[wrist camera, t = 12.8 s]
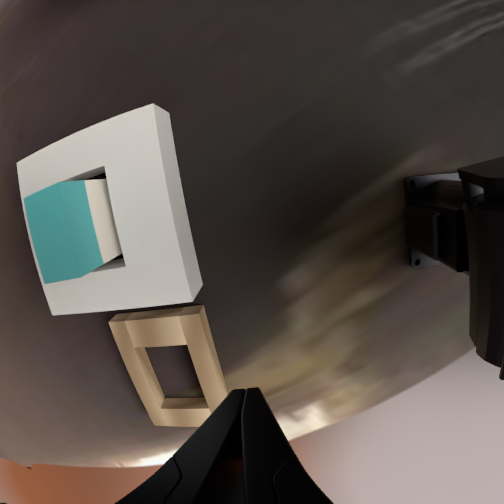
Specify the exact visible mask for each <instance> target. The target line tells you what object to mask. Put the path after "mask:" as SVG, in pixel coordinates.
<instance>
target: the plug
mask: <svg viewBox="0 0 504 504" xmlns="http://www.w3.org/2000/svg"><path fill="white" fill-rule="evenodd" d="M23 199H24V204H25V210H26V215H27V220H28V224H29V229H30V233H31V237H32V241H33V245H34V249H35V253H36V257H37V260H38V264H39V267H40V271H41V274H42V277H43V280H44V283H45V284H48V283H54V282H59V281H65V280H70V279H75V278H81V277H83V276H84V275H86V274H88V273H89V272H91V271H93V270H94V269H96V268H98V267H99V266H101V265H103V264H105V263H106V262H108V261H110V260H111V259H113V258H115V257H117V256H118V255H120V254H122V249H121V245H120V241H119V237H118V233H117V229H116V224H115V220H114V215H113V210H112V205H111V200H110V195H109V190H108V184H107V179H95V180H81V181H68V182H58V183H56V184H53V185H51V186H49V187H46V188H44V189H42V190H40V191H38V192H36V193H33V194H31V195H29V196H27V197H25V198H23Z"/></svg>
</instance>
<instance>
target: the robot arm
mask: <svg viewBox="0 0 504 504" xmlns="http://www.w3.org/2000/svg"><path fill="white" fill-rule="evenodd" d="M457 170H458V173H445V174H433V175H421V176H410V177H407V178H406V179H405V181H404V190H405V199H406V207H405V209H404V213H405V227H406V243H407V244H408V245H409V263H410V265H411V267H413V268H415V269H419V268H424V267H428V266H433V265H437V264H442V263H443V264H445V265H446V266H448V267H450V268H452V269H453V270H455V271H457V272H463V273H465V274H466V275H468V276H469V284H470V317H469V335H470V337H471V339H472V341H473V343H474V345H475V346H476V353H477V354H478V355H479V356H480V357H481V358H483V359H484V360H485V361H487V362H489V363H491V364H493V365H495V366H497V367H500V368H501V370H500V375H499V378H500V379H501V380H504V157H501V158H497V159H493V160H489V161H485V162H481V163H477V164H473V165H469V166H466V167H462V168H458V169H457ZM410 181H412V182H413V186H412V187H410V185H409V183H410ZM416 259H418V262H417V263H416V264H415V263H414V262H415V260H416ZM0 504H6V503H0ZM115 504H333V502H332V501H331V500H330V499H329V498H328V497H327V496H326V495H325V494H324V493H323V492H322V491H321V489H320V488H319V487H318V486H317V485H316V484H315V482H314V481H313V480H312V479H311V477H310V476H309V475H308V473H307V472H306V470H305V469H304V467H303V466H302V464H301V463H300V461H299V459H298V458H297V456H296V454H295V453H294V451H293V449H292V447H291V446H290V444H289V442H288V440H287V438H286V437H285V435H284V433H283V431H282V429H281V428H280V426H279V424H278V422H277V420H276V418H275V417H274V415H273V413H272V411H271V409H270V407H269V405H268V403H267V402H266V400H265V398H264V396H263V394H262V392H261V390H260V388H258V387H255V388H247V389H246V390H245V389H234V390H232V391H231V392H230V393H229V394H228V395H227V396H226V398H225V399H224V400H223V401H222V402H221V403H220V405H219V406H218V407H217V408H216V409H215V410H214V411H213V412H212V414H211V415H210V416H209V417H208V418H207V419H206V420H205V421H204V423H203V424H202V425H201V426H200V427H199V428H198V429H197V430H196V431H195V432H194V434H193V435H192V436H191V437H190V438H189V439H188V440H187V441H186V442H185V443H184V444H183V445H182V446H181V447H180V448H179V450H178V451H177V452H176V453H175V454H174V455H173V457H171V458H170V459H169V460H168V461H167V462H166V463H165V464H164V465H163V466H162V467H161V468H160V469H159V470H158V471H157V472H155V474H154V475H152V476H151V477H150V478H149V479H147V480H146V481H145V482H143V483H142V484H141V485H140V486H138V487H137V488H136V489H134V490H133V491H132V492H130V493H129V494H127V495H126V496H125V497H123V498H122V499H120V500H119V501H118V502H116V503H115Z"/></svg>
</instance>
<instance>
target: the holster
mask: <svg viewBox="0 0 504 504" xmlns="http://www.w3.org/2000/svg"><path fill="white" fill-rule="evenodd" d="M108 323H109V325H110V328H111V331H112V333H113V336H114V339H115V341H116V344H117V346H118V349H119V351H120V354H121V356H122V358H123V361H124V363H125V365H126V368H127V370H128V372H129V374H130V377H131V379H132V381H133V383H134V385H135V388H136V390H137V392H138V394H139V396H140V398H141V400H142V402H143V404H144V406H145V408H146V410H147V412H148V414H149V416H150V418H151V420H152V421H153V423H154V425H156V426H182V427H200V426H201V425H202V424H203V423H204V421H205V420H206V419H207V418H208V417H209V416H210V415H211V414H212V412H213V411H214V410H215V409H216V408H217V407H218V406H219V405H220V403H221V402H222V401H223V400H224V399H225V398H226V396H227V395H228V391H227V388H226V384H225V381H224V377H223V374H222V371H221V367H220V364H219V360H218V357H217V353H216V350H215V346H214V342H213V339H212V335H211V331H210V328H209V324H208V320H207V316H206V312H205V308H204V305H197V306H189V307H180V308H171V309H162V310H153V311H143V312H133V313H122V314H116V315H115V316H114V317H113V318H112V319H111V320H110V321H109V322H108ZM175 345H187V346H188V349H189V352H190V355H191V358H192V361H193V364H194V367H195V370H196V373H197V376H198V379H199V382H200V385H201V388H202V390H203V393H204V396H205V397H200V398H165V396H164V394H163V392H162V389H161V387H160V385H159V382H158V380H157V378H156V375H155V373H154V370H153V368H152V365H151V363H150V360H149V358H148V355H147V353H146V350H145V347H159V346H175Z"/></svg>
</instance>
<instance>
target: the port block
mask: <svg viewBox="0 0 504 504" xmlns="http://www.w3.org/2000/svg"><path fill="white" fill-rule="evenodd" d="M17 171H18V179H19V186H20V193H21V200H22V206H23V211H24V216H25V221H26V226H27V231H28V235H29V240H30V244H31V248H32V252H33V256H34V259H35V263H36V267H37V270H38V273H39V277H40V280H41V283H42V286H43V290H44V293H45V296H46V298H47V301H48V304H49V307H50V310H51V312H52V315H65V314H78V313H90V312H102V311H113V310H123V309H133V308H143V307H152V306H161V305H170V304H179V303H187V302H193V301H194V299H195V297H196V295H197V294H198V292H199V290H200V289H201V287H202V285H203V283H202V279H201V275H200V270H199V266H198V262H197V257H196V253H195V248H194V244H193V239H192V235H191V230H190V225H189V220H188V215H187V210H186V205H185V200H184V195H183V190H182V185H181V180H180V174H179V169H178V163H177V157H176V152H175V146H174V140H173V134H172V127H171V121H170V115H169V113H168V112H167V111H165V110H163V109H162V108H160V107H158V106H157V105H155V104H150V105H147V106H144V107H141V108H138V109H135V110H132V111H129V112H126V113H123V114H121V115H118V116H115V117H113V118H110V119H107V120H105V121H102V122H100V123H97V124H95V125H92V126H90V127H88V128H85V129H83V130H81V131H79V132H76V133H74V134H72V135H70V136H67V137H65V138H63V139H61V140H59V141H57V142H55V143H53V144H51V145H49V146H47V147H45V148H43V149H41V150H39V151H37V152H35V153H33V154H32V155H30V156H28V157H26V158H24V159H23V160H21V161H19V162H17ZM102 173H106V179H107V184H108V190H109V195H110V200H111V205H112V210H113V215H114V220H115V224H116V229H117V233H118V237H119V241H120V245H121V249H122V253H123V257H124V258H122V259H117V260H111V261H108V262H106V263H105V264H103V265H101V266H99V267H98V268H96V269H94V270H93V271H91V272H89V273H88V274H86V275H84V276H83V277H81V278H75V279H70V280H65V281H59V282H54V283H48V284H45V283H44V280H43V277H42V274H41V271H40V267H39V264H38V260H37V257H36V253H35V249H34V245H33V241H32V237H31V233H30V229H29V224H28V220H27V215H26V210H25V204H24V199H23V198H25V197H27V196H29V195H31V194H33V193H36V192H38V191H40V190H42V189H44V188H46V187H49V186H51V185H53V184H56V183H58V182H68V181H81V180H85V179H88V178H91V177H94V176H97V175H100V174H102Z"/></svg>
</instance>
